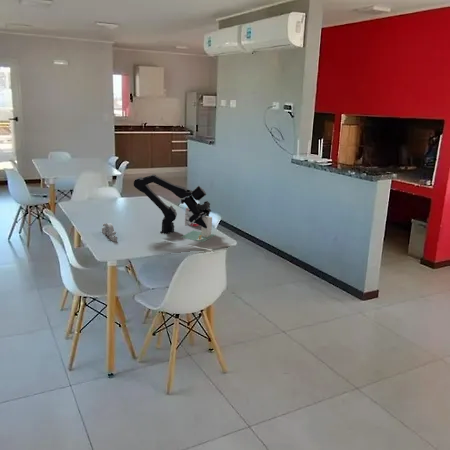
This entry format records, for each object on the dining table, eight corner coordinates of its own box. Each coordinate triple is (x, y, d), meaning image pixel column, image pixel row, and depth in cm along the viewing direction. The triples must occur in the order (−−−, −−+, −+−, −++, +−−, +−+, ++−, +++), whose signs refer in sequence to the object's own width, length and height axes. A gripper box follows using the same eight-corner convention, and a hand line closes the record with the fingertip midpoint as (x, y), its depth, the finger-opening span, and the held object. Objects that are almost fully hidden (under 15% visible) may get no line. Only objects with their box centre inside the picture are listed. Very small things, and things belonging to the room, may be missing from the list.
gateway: (101, 232, 268) (101, 219, 266) (105, 232, 270) (105, 219, 268) (112, 242, 252) (113, 228, 250) (117, 242, 254) (117, 228, 252)
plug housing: (201, 236, 269) (202, 217, 266) (205, 233, 274) (206, 215, 271) (206, 237, 268) (207, 218, 265) (211, 235, 273) (212, 216, 270)
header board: (179, 238, 265) (179, 233, 264) (193, 232, 280) (193, 227, 279) (203, 243, 259) (203, 238, 258) (215, 236, 274) (216, 231, 273)
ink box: (199, 226, 293) (200, 208, 290) (194, 228, 289) (195, 209, 286) (189, 223, 297) (190, 206, 294) (184, 225, 294) (185, 207, 290)
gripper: (194, 200, 258) (211, 222, 257) (209, 194, 275) (224, 215, 274) (181, 211, 263) (198, 233, 262) (196, 205, 280) (212, 226, 279)
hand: (208, 226), depth 269 cm, fingers closed on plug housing, 6 cm apart
